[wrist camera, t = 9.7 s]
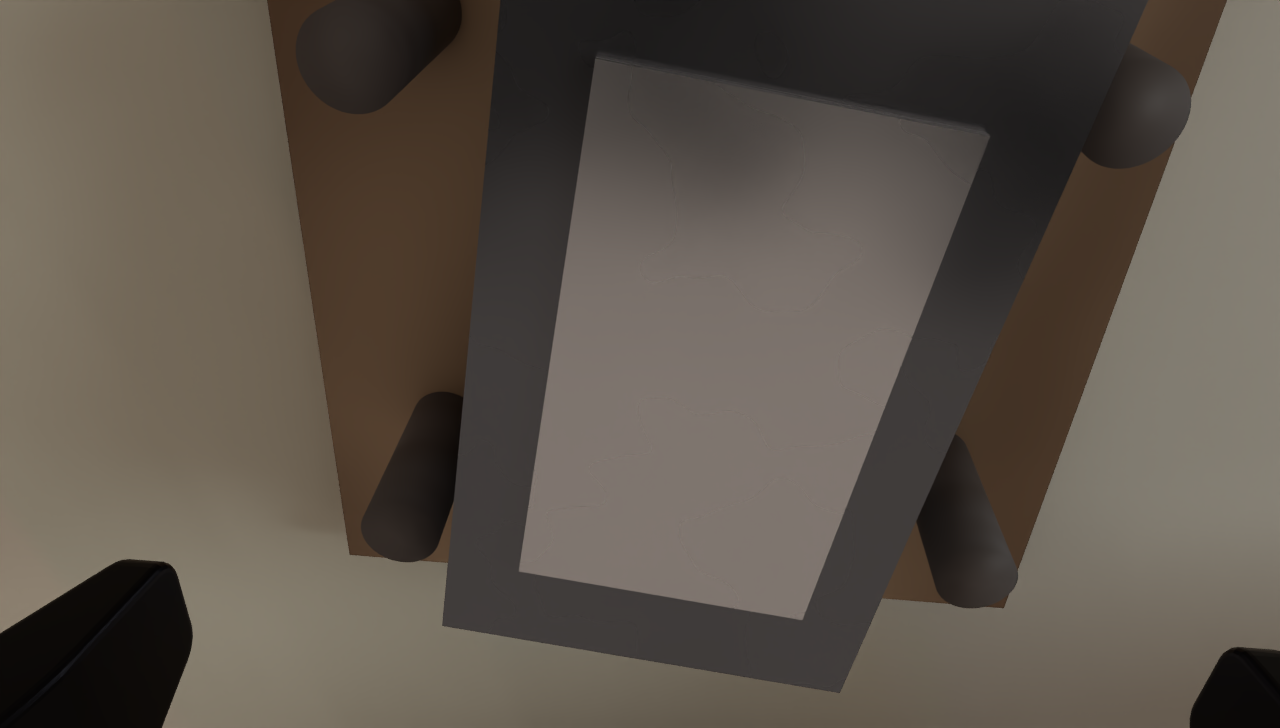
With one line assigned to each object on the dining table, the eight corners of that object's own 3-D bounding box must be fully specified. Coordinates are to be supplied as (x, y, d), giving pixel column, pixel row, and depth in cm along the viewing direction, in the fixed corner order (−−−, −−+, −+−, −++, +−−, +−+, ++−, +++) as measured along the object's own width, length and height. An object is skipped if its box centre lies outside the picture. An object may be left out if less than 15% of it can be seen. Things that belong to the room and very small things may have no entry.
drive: (1022, -59, 12) (1157, -1, 8) (812, 516, 17) (840, 701, 14) (567, -154, 12) (509, -133, 8) (494, 459, 17) (439, 633, 13)
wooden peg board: (1270, -238, 12) (1504, -254, 8) (990, 571, 19) (1053, 740, 16) (256, -302, 12) (77, -341, 9) (365, 521, 19) (292, 676, 16)
